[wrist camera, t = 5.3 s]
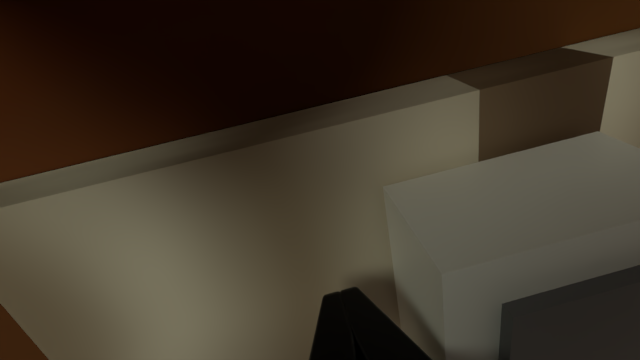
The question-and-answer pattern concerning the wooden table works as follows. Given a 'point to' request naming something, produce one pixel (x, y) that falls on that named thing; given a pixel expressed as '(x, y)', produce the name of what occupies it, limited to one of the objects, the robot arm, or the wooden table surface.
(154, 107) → the wooden table surface
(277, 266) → the board
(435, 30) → the wooden table surface
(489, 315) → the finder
